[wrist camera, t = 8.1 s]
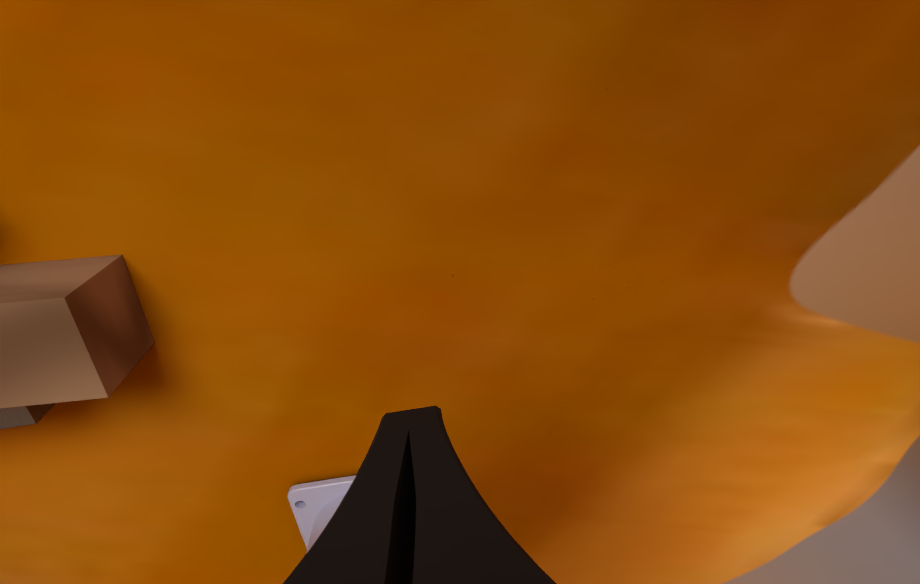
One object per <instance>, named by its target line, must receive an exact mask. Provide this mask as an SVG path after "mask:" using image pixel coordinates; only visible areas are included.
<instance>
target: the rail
mask: <svg viewBox="0 0 920 584" xmlns="http://www.w3.org/2000/svg"><path fill="white" fill-rule="evenodd" d="M154 343H155V342H154V339H153V337H152V334H151V331H150V329H149V326H148V323H147V321H146V318H145V315H144V312H143V310H142V307H141V304H140V302H139V299H138V296H137V294H136V291H135V288H134V285H133V283H132V280H131V277H130V275H129V272H128V269H127V267H126V264H125V261H124V259H123V256H122V255H114V256H102V257H90V258H79V259H67V260H55V261H43V262H32V263H20V264H8V265H0V408H10V407H20V406H30V405H40V404H50V403H60V402H70V401H80V400H90V399H100V398H108V397H109V396H110V395H111V394H112V393H113V391H114V390H115V389H116V388H117V387H118V386H119V384H120V383H121V382H122V381H123V380H124V378H125V377H126V376H127V375H128V374H129V373H130V371H131V370H132V369H133V368H134V367H135V366H136V364H137V363H138V362H139V361H140V360H141V358H142V357H143V356H144V355H145V354H146V353H147V351H148V350H149V349H150V348H151V347H152V345H153V344H154Z"/></svg>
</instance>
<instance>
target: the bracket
mask: <svg viewBox="0 0 920 584" xmlns="http://www.w3.org/2000/svg"><path fill="white" fill-rule="evenodd" d="M55 404H56V403H50V404H40V405H30V406H20V407H10V408H0V429H5V428H11V427H18V426H24V425H31V424H36V423H37V422H38V421H39V420H40V419H41V418H42V417H43V416H44V415H45V414H46V413H47V412H48V411H49V410H50V409H51V408H52V407H53V406H54V405H55Z"/></svg>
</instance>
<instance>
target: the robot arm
mask: <svg viewBox="0 0 920 584" xmlns="http://www.w3.org/2000/svg"><path fill="white" fill-rule="evenodd" d="M287 496H288V500H289V503H290V506H291V508H292V511H293V514H294V516H295V519H296V522H297V524H298V527H299V530H300V532H301V535H302V538H303V540H304V543H305V546H306V548H307V553H306V555H305V556H304V558H303V559H302V560H301V561H300V563H299V564H298V565H297V567H296V568H295V569H294V570H293V572H292V573H291V574H290V576H289V577H288V578H287V579H286V580H285V582H284V583H283V584H556V583H555V582H554V581H553V580H552V579H551V578H550V577H549V576H548V575H547V574H546V573H545V572H544V571H543V570H542V569H541V568H540V567H539V566H538V565H537V564H536V563H535V562H534V561H533V560H532V558H531V557H530V556H529V555H528V554H527V553H526V552H525V551H524V550H523V549H522V548H521V546H520V545H519V544H518V543H517V542H516V541H515V540H514V539H513V538H512V536H511V535H510V534H509V533H508V531H507V530H506V529H505V528H504V526H503V525H502V524H501V523H500V522H499V520H498V519H497V518H496V516H495V515H494V514H493V512H492V511H491V510H490V508H489V507H488V505H487V504H486V503H485V501H484V500H483V498H482V497H481V495H480V494H479V492H478V491H477V489H476V488H475V486H474V484H473V483H472V481H471V480H470V478H469V476H468V475H467V473H466V471H465V469H464V468H463V466H462V464H461V462H460V460H459V458H458V456H457V454H456V452H455V450H454V448H453V446H452V444H451V442H450V439H449V437H448V435H447V432H446V429H445V426H444V423H443V419H442V413H441V409H440V408H438V407H437V406H431V407H424V408H418V409H411V410H405V411H398V412H392V413H386V414H385V415H384V416H383V417H382V420H381V422H380V425H379V428H378V430H377V433H376V435H375V437H374V440H373V442H372V444H371V446H370V448H369V451H368V453H367V455H366V457H365V459H364V461H363V463H362V465H361V467H360V469H359V471H358V473H357V475H354V476H348V477H342V478H335V479H329V480H323V481H316V482H310V483H304V484H297V485H294V486H292V487H291V488H290V489H289V492H288V495H287ZM299 501H303V502H299Z"/></svg>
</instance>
